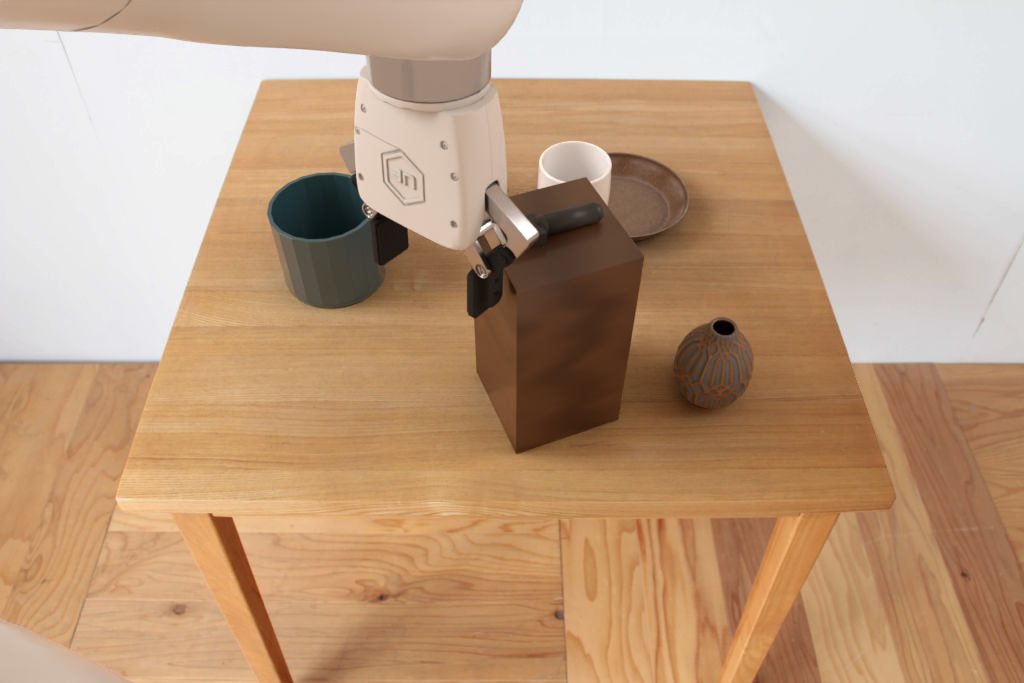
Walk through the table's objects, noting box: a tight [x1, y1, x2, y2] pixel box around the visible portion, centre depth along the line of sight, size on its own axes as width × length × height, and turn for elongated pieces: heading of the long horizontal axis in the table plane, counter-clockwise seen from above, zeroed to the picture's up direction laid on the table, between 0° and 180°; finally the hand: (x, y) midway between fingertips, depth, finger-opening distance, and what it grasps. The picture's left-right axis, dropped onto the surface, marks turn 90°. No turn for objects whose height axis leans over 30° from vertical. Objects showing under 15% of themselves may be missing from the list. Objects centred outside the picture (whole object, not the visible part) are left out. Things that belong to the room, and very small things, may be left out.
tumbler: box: [266, 171, 387, 309], centre depth 86 cm, size 10×10×9 cm
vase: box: [672, 316, 755, 409], centre depth 76 cm, size 7×7×9 cm
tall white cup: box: [536, 140, 612, 206], centre depth 83 cm, size 7×7×15 cm
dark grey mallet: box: [500, 201, 604, 249], centre depth 63 cm, size 8×2×2 cm, turn 112°
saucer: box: [606, 151, 690, 242], centre depth 95 cm, size 15×15×3 cm
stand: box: [470, 177, 645, 455], centre depth 71 cm, size 10×10×20 cm
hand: (436, 280), depth 63 cm, fingers open, 8 cm apart
